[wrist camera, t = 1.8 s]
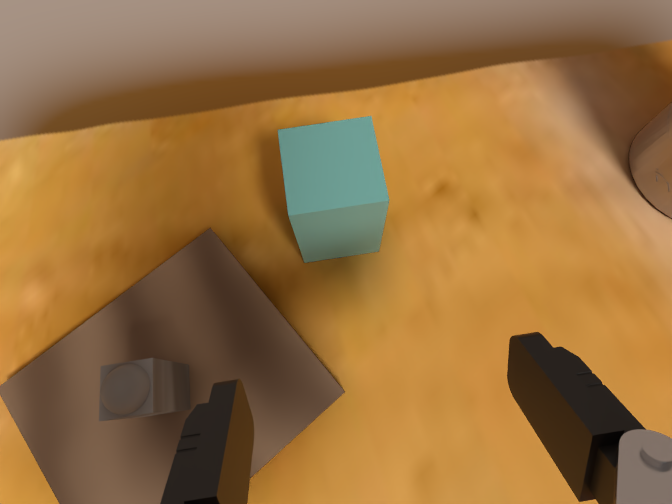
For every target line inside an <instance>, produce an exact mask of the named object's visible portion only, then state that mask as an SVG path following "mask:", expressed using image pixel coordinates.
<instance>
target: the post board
mask: <svg viewBox="0 0 672 504" xmlns="http://www.w3.org/2000/svg"><path fill="white" fill-rule="evenodd" d="M235 379H241V381H242V383H243V386H244V389H245V393H246V396H247V399H248V403H249V406H250V409H251V413H252V416H253V421H254V445H253V454H252V463H251V472H250V478H251V477H252V476H253V475H254V474H255V473H257V472H258V471H259V470H260V469H261V468H262V467H263V466H264V465H265V464H266V463H268V462H269V461H270V460H271V459H272V458H273V457H274V456H275V455H276V454H277V453H279V452H280V451H281V450H282V449H283V448H284V447H285V446H286V445H287V444H288V443H290V442H291V441H292V440H293V439H294V438H295V437H296V436H297V435H298V434H299V433H300V432H302V431H303V430H304V429H305V428H306V427H307V426H308V425H309V424H310V423H311V422H313V421H314V420H315V419H316V418H317V417H318V416H319V415H320V414H321V413H322V412H324V411H325V410H326V409H327V408H328V407H329V406H330V405H331V404H332V403H333V402H335V401H336V400H337V399H338V398H339V397H340V396H341V395H342V394H343V393H344V392H345V391H344V390H343V389H342V388H341V386H340V385H339V384H338V383H337V382H336V380H335V379H334V378H333V377H332V375H331V374H330V373H329V372H328V371H327V369H326V368H325V367H324V366H323V365H322V363H321V362H320V361H319V360H318V358H317V357H316V356H315V355H314V354H313V352H312V351H311V350H310V349H309V347H308V346H307V345H306V344H305V343H304V341H303V340H302V339H301V338H300V336H299V335H298V334H297V333H296V332H295V330H294V329H293V328H292V327H291V326H290V324H289V323H288V322H287V321H286V319H285V318H284V317H283V316H282V315H281V313H280V312H279V311H278V310H277V308H276V307H275V306H274V305H273V304H272V302H271V301H270V300H269V299H268V298H267V296H266V295H265V294H264V293H263V291H262V290H261V289H260V288H259V287H258V285H257V284H256V283H255V282H254V280H253V279H252V278H251V277H250V276H249V274H248V273H247V272H246V271H245V269H244V268H243V267H242V266H241V265H240V263H239V262H238V261H237V260H236V259H235V257H234V256H233V255H232V254H231V252H230V251H229V250H228V249H227V248H226V246H225V245H224V244H223V243H222V241H221V240H220V239H219V238H218V237H217V235H216V234H215V233H214V232H213V231H212V229H211V228H209V229H208V230H207V231H205V232H204V233H203V234H201V235H200V236H199V237H197V238H196V239H195V240H193V241H192V242H191V243H189V244H188V245H187V246H185V247H184V248H183V249H181V250H180V251H179V252H177V253H176V254H175V255H173V256H172V257H171V258H169V259H168V260H167V261H166V262H164V263H163V264H162V265H160V266H159V267H158V268H156V269H155V270H154V271H152V272H151V273H150V274H148V275H147V276H146V277H144V278H143V279H142V280H140V281H139V282H138V283H136V284H135V285H134V286H132V287H131V288H130V289H128V290H127V291H126V292H124V293H123V294H122V295H120V296H119V297H118V298H116V299H115V300H114V301H112V302H111V303H110V304H108V305H107V306H106V307H104V308H103V309H102V310H100V311H99V312H98V313H96V314H95V315H94V316H92V317H91V318H90V319H88V320H87V321H86V322H84V323H83V324H82V325H80V326H79V327H78V328H76V329H75V330H74V331H72V332H71V333H70V334H68V335H67V336H66V337H64V338H63V339H62V340H60V341H59V342H58V343H56V344H55V345H54V346H52V347H51V348H50V349H48V350H47V351H46V352H44V353H43V354H42V355H40V356H39V357H38V358H36V359H35V360H34V361H32V362H31V363H30V364H29V365H27V366H26V367H25V368H23V369H22V370H21V371H19V372H18V373H17V374H15V375H14V376H13V377H11V378H10V379H9V380H7V381H6V382H5V383H3V384H2V385H1V386H0V395H1V397H2V399H3V401H4V403H5V405H6V406H7V408H8V410H9V412H10V414H11V416H12V417H13V419H14V421H15V423H16V425H17V427H18V428H19V430H20V432H21V434H22V436H23V438H24V439H25V441H26V443H27V445H28V447H29V449H30V450H31V452H32V454H33V456H34V458H35V460H36V461H37V463H38V465H39V467H40V469H41V471H42V472H43V474H44V476H45V478H46V480H47V482H48V483H49V485H50V487H51V489H52V491H53V493H54V494H55V496H56V498H57V500H58V502H59V504H160V502H161V499H162V496H163V492H164V489H165V486H166V483H167V479H168V476H169V473H170V469H171V466H172V463H173V459H174V456H175V454H176V449H177V446H178V443H179V440H180V439H181V437H180V436H181V433H182V430H183V426H184V423H185V420H186V418H187V417H188V416H189V414H190V413H191V412H192V410H193V409H194V408H195V406H196V405H197V404H202V403H208V402H209V398H210V394H211V390H212V386H213V384H214V383H217V382H223V381H229V380H235Z"/></svg>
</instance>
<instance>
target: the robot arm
mask: <svg viewBox="0 0 672 504" xmlns="http://www.w3.org/2000/svg"><path fill="white" fill-rule="evenodd" d="M629 164H630V168H631V173H632V176H633V178H634V180H635V182H636V185H637V187H638V188H639V189H640V191H641V192H642V193H643V195H644V196H645V197H646V199H647V200H648V201H650V202H651V203H652V204H653V205H654V206H655V207H656V208H657V209H659V210H660V211H661V212H663V213H664V214H666V215H667V216H669V217H671V218H672V102H671V103H670V104H669V105H668V106H667V107H666V108H664V109H663V110H662V111H661V112H660V113H659V114H658V115H657V116H656V117H655V118H654V119H653V120H651V121H650V122H649V123H648V124H647V125H646V126H645V127H644V128H643V129H642V130H641V131H639V132H638V134H637V135H636V137H635V139H634V140H633V142H632V145H631V149H630V154H629ZM507 378H508V384H509V388H510V391H511V393H512V395H513V397H514V399H515V400H516V402H517V404H518V405H519V407H520V408H521V410H522V412H523V413H524V415H525V416H526V418H527V419H528V421H529V423H530V424H531V426H532V427H533V429H534V431H535V432H536V434H537V435H538V437H539V439H540V440H541V442H542V443H543V445H544V446H545V448H546V450H547V451H548V453H549V454H550V456H551V458H552V459H553V461H554V462H555V464H556V466H557V467H558V469H559V470H560V472H561V474H562V475H563V477H564V478H565V480H566V481H567V483H568V485H569V486H570V488H571V489H572V491H573V493H574V494H575V496H576V497H577V499H578V501H579V502H581V501H587V500H593V499H596V500H597V502H598V503H599V504H672V439H671V438H670V437H668V436H666V435H663V434H661V433H658V432H655V431H651V430H646V429H645V428H644V427H643V426H642V425H641V424H640V423H639V422H638V420H637V419H636V418H635V417H634V416H633V415H632V414H631V413H630V412H629V411H628V410H627V409H626V408H625V406H624V405H623V404H622V403H621V402H620V401H619V400H618V399H617V398H616V397H615V396H614V395H613V393H612V392H611V391H610V390H609V389H608V388H607V387H606V386H605V385H603V384H602V382H601V380H600V379H599V378H598V377H597V376H596V375H595V374H592V371H591V370H590V369H589V368H588V366H587V365H586V364H585V363H584V362H583V361H582V360H581V359H580V358H579V357H578V356H576V355H574V354H573V353H571V352H569V351H568V350H566V349H564V348H563V347H555V348H553V347H552V346H551V344H550V343H549V342H548V341H547V340H546V339H545V338H544V336H543V335H542V334H540V333H539V332H534V333H528V334H522V335H515V336H512V337H511V338H510V343H509V358H508V372H507ZM180 437H181V439H180V440H179V443H178V446H177V449H176V454H175V456H174V459H173V463H172V466H171V469H170V473H169V476H168V479H167V483H166V486H165V489H164V492H163V496H162V499H161V502H160V504H247V500H248V491H249V481H250V472H251V463H252V454H253V445H254V421H253V416H252V413H251V409H250V406H249V403H248V399H247V396H246V393H245V389H244V386H243V383H242V381H241V379H235V380H229V381H223V382H217V383H214V384H213V386H212V390H211V394H210V398H209V402H208V403H202V404H197V405H196V406H195V408H194V409H193V410H192V412H191V413H190V414H189V416H188V417H187V418H186V420H185V423H184V426H183V430H182V433H181V436H180Z"/></svg>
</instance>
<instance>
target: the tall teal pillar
mask: <svg viewBox="0 0 672 504" xmlns="http://www.w3.org/2000/svg"><path fill="white" fill-rule="evenodd" d="M278 137H279V145H280V153H281V161H282V169H283V177H284V185H285V193H286V201H287V209H288V216H289V219H290V222H291V225H292V228H293V231H294V234H295V237H296V240H297V243H298V245H299V248H300V251H301V254H302V257H303V260H304V263H307V262H314V261H320V260H327V259H333V258H340V257H346V256H353V255H359V254H366V253H372V252H379V249H380V244H381V239H382V234H383V229H384V224H385V219H386V214H387V209H388V204H389V197H388V192H387V187H386V183H385V178H384V173H383V169H382V164H381V159H380V155H379V150H378V145H377V141H376V136H375V131H374V127H373V122H372V117H371V116H368V117H361V118H354V119H348V120H341V121H334V122H327V123H321V124H314V125H307V126H300V127H294V128H287V129H280V130H278Z"/></svg>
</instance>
